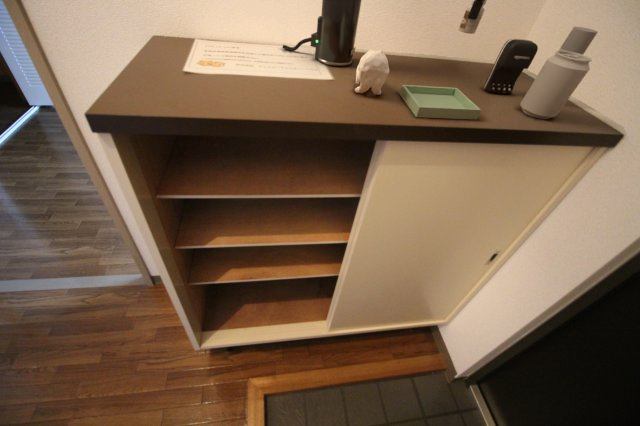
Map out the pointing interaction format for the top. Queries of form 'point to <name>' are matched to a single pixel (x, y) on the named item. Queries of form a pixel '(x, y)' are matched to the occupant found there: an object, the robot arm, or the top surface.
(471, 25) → the pill bottle
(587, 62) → the can
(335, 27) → the robot arm
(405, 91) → the tray
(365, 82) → the white bear figurine
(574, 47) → the container
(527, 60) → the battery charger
